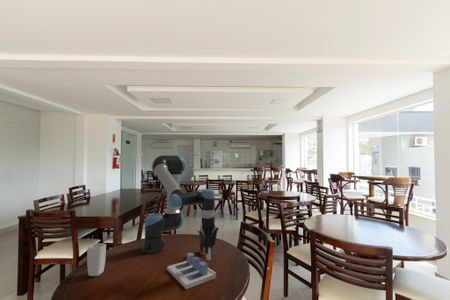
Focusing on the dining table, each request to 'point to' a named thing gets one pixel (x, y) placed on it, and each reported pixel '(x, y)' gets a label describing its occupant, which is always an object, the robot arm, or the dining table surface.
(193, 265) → the tab
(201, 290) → the dining table surface
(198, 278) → the switch bank
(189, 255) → the tab
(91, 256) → the cup
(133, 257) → the dining table surface
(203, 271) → the tab
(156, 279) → the dining table surface
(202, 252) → the multimeter
